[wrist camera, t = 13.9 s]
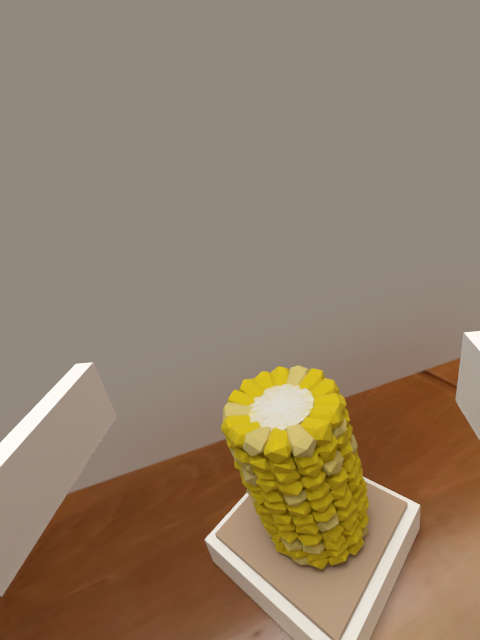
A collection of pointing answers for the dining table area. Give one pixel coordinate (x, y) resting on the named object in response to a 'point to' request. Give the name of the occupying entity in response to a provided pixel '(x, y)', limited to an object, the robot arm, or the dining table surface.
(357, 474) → the food
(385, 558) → the plinth
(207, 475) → the dining table surface
